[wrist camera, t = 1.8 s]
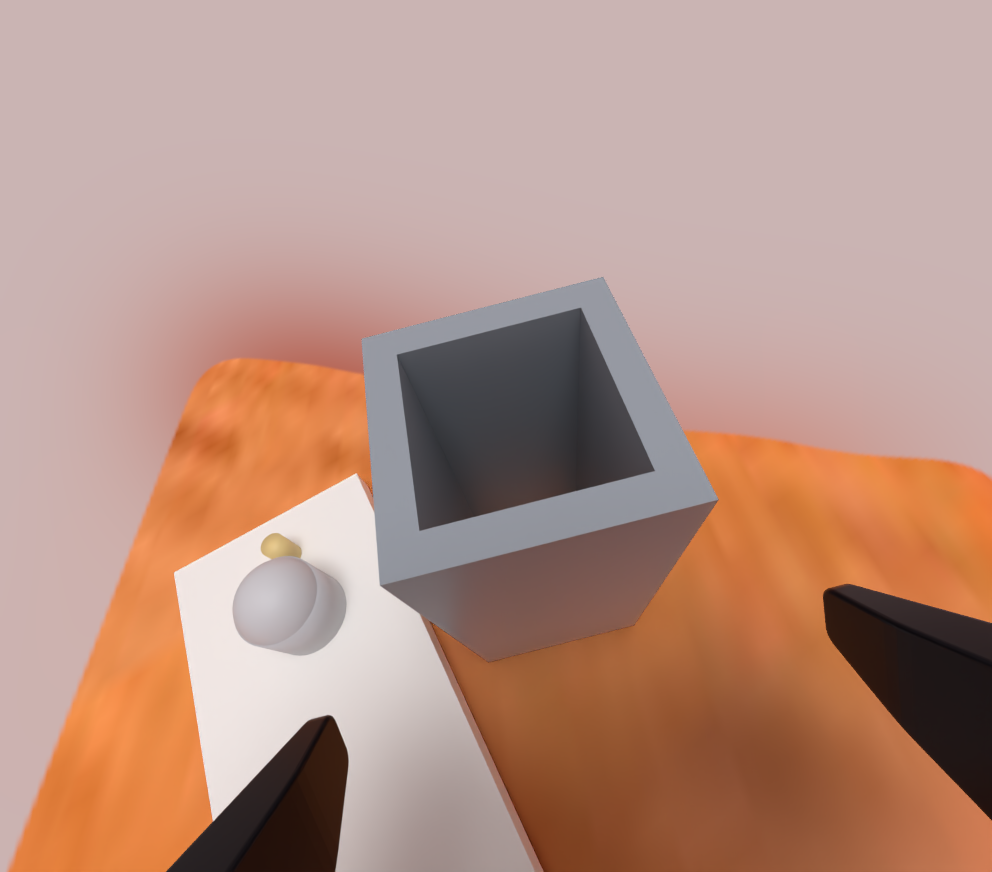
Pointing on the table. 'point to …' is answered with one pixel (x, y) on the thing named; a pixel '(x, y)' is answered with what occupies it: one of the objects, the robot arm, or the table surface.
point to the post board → (342, 691)
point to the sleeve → (527, 471)
